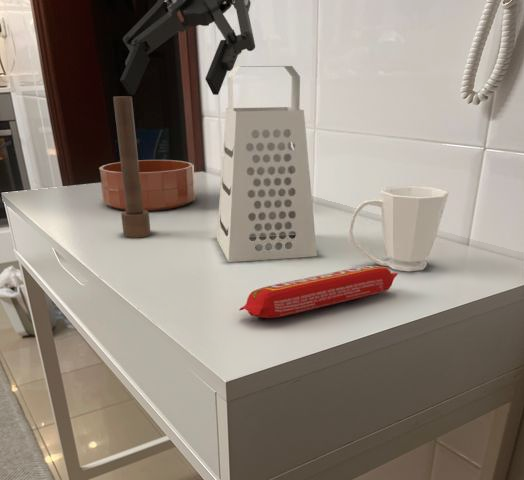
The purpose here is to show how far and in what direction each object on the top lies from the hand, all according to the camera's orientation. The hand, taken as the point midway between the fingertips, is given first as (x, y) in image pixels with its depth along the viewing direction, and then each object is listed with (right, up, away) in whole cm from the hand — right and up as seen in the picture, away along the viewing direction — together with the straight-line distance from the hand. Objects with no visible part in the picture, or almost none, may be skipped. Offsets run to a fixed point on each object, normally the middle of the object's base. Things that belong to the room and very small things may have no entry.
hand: (167, 87), depth 76 cm
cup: (+27, -26, -13) cm, 40 cm away
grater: (+13, -23, -6) cm, 27 cm away
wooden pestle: (-4, -20, 0) cm, 20 cm away
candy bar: (+18, -32, -24) cm, 44 cm away
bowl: (-6, -11, +19) cm, 23 cm away
